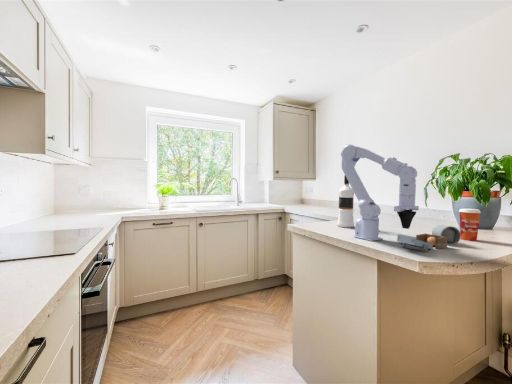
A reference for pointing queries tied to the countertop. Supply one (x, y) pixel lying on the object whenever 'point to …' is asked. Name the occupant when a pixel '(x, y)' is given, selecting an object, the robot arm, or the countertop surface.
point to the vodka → (346, 206)
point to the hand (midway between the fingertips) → (405, 228)
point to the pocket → (439, 240)
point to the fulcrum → (416, 247)
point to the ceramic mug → (447, 233)
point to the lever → (413, 241)
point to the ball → (431, 240)
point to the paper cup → (469, 223)
